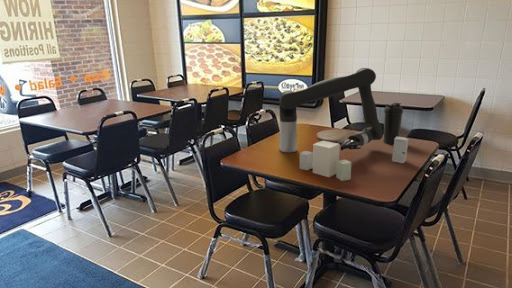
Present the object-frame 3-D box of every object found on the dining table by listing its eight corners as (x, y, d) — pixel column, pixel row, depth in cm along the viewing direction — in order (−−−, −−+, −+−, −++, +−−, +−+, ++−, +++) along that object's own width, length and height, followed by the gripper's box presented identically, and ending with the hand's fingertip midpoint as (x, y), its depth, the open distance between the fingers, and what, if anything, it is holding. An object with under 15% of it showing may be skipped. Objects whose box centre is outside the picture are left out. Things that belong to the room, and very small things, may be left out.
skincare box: (391, 161, 184) (393, 138, 180) (393, 159, 188) (395, 136, 184) (404, 163, 181) (406, 140, 177) (406, 161, 184) (408, 137, 181)
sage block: (336, 177, 167) (336, 160, 164) (344, 175, 168) (345, 159, 166) (341, 180, 163) (342, 164, 160) (350, 179, 164) (351, 162, 162)
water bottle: (404, 143, 212) (407, 104, 206) (390, 145, 209) (393, 105, 202) (391, 138, 221) (394, 101, 215) (378, 141, 218) (380, 102, 211)
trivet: (365, 137, 228) (365, 134, 228) (343, 146, 212) (343, 143, 211) (331, 130, 246) (331, 127, 245) (308, 138, 229) (308, 135, 229)
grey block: (299, 168, 179) (299, 153, 176) (305, 166, 182) (305, 150, 179) (307, 170, 176) (307, 154, 173) (312, 168, 179) (312, 152, 176)
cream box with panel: (328, 177, 167) (329, 148, 163) (312, 172, 173) (313, 144, 169) (338, 172, 172) (339, 143, 168) (322, 168, 178) (323, 140, 174)
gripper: (346, 131, 194) (328, 138, 182) (370, 135, 185) (352, 143, 173) (346, 144, 196) (328, 152, 184) (369, 149, 187) (351, 158, 175)
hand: (340, 148), depth 178 cm, fingers closed
